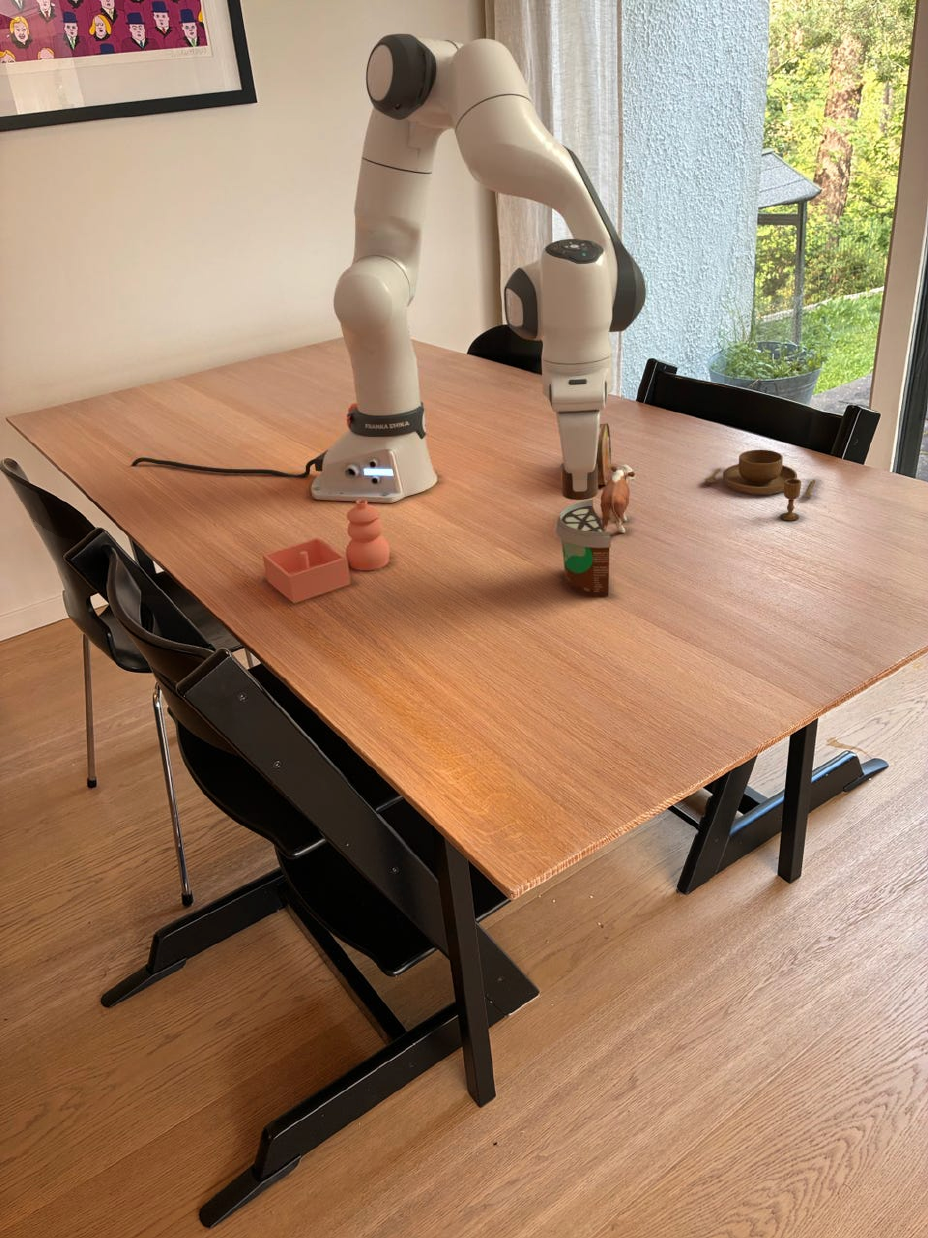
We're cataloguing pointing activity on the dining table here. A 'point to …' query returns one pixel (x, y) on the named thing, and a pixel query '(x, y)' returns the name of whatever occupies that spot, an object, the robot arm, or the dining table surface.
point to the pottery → (328, 558)
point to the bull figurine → (616, 497)
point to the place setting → (764, 478)
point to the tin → (603, 454)
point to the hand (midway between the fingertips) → (579, 481)
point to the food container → (584, 549)
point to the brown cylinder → (582, 495)
